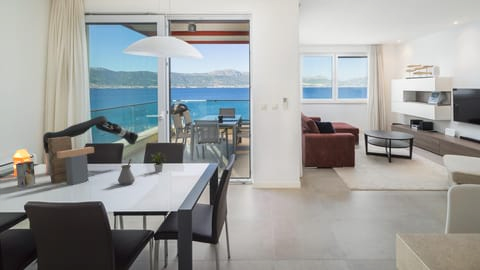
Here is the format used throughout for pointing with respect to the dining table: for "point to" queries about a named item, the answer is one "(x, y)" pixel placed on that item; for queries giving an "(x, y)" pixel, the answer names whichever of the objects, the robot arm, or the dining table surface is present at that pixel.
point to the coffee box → (25, 174)
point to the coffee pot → (126, 175)
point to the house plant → (158, 162)
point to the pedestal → (76, 169)
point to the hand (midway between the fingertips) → (103, 122)
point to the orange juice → (20, 158)
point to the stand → (56, 163)
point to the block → (75, 152)
